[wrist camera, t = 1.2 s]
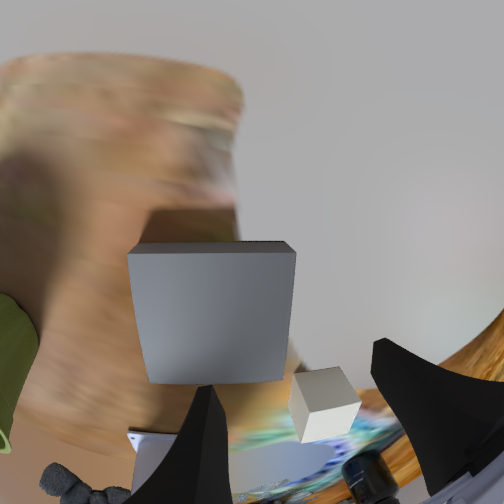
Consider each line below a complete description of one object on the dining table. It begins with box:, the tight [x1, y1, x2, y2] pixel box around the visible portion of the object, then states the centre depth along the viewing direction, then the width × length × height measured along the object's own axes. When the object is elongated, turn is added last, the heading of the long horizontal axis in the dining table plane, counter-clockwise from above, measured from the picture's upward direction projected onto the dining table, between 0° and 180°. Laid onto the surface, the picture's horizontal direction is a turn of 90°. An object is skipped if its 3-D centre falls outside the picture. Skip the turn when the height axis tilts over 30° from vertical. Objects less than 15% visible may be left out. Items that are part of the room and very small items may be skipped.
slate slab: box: [127, 241, 296, 385], centre depth 18 cm, size 10×10×3 cm
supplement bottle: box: [341, 450, 400, 504], centre depth 25 cm, size 7×7×12 cm
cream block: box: [288, 366, 362, 444], centre depth 21 cm, size 4×4×5 cm
